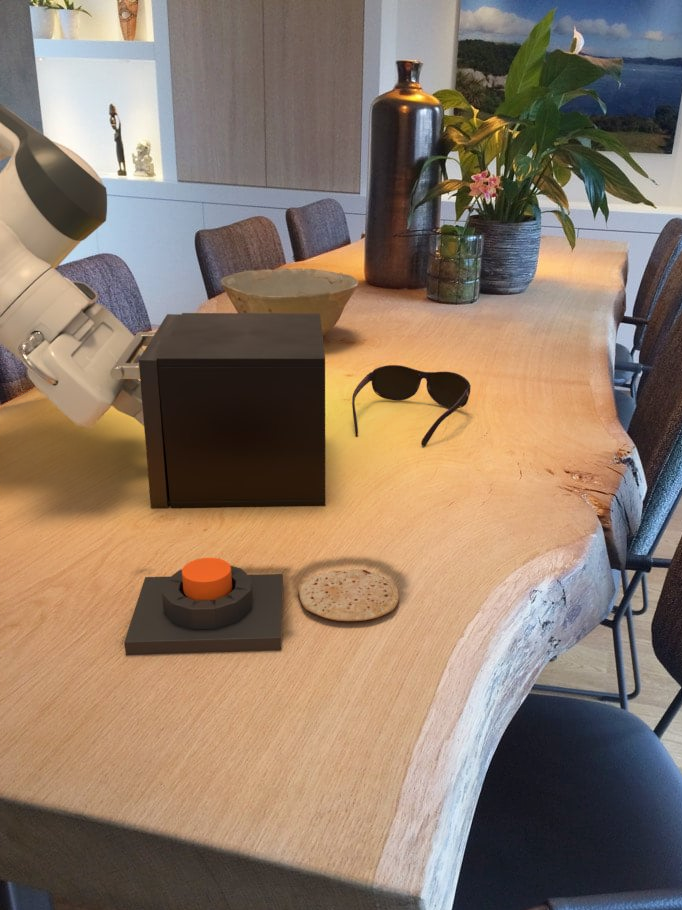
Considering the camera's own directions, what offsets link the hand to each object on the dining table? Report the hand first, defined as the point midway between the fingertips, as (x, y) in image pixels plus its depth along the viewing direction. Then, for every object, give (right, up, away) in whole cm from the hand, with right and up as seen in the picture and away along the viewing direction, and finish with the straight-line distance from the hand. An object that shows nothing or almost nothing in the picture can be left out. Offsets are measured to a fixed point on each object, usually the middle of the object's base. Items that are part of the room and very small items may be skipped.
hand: (154, 419), depth 86 cm
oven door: (0, -5, +2) cm, 6 cm away
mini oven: (+10, -5, +3) cm, 11 cm away
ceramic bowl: (+9, +18, +53) cm, 57 cm away
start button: (+10, -15, -23) cm, 30 cm away
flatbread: (+21, -17, -20) cm, 33 cm away
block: (+10, -17, -22) cm, 30 cm away
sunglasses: (+27, +1, +19) cm, 33 cm away
